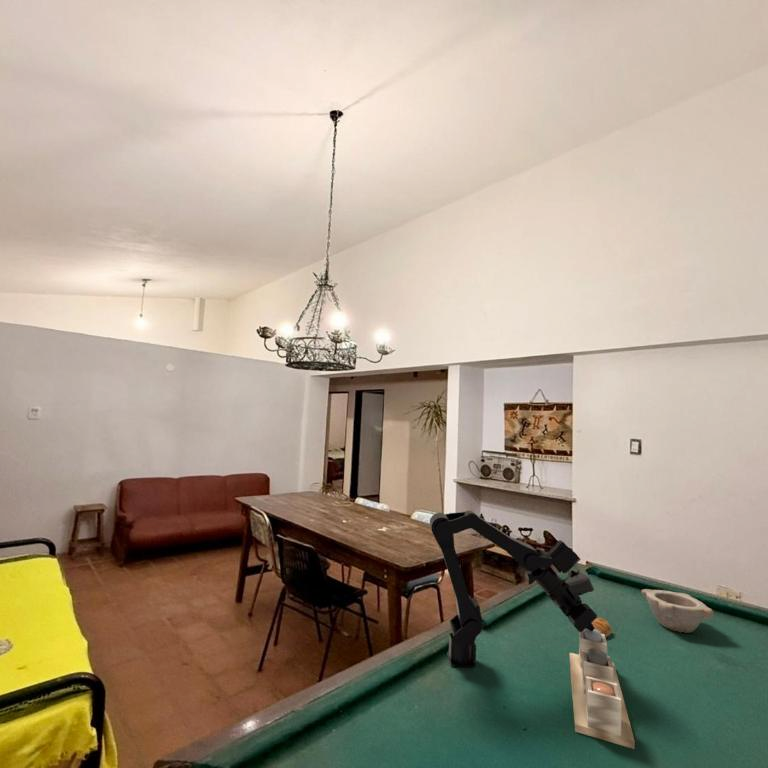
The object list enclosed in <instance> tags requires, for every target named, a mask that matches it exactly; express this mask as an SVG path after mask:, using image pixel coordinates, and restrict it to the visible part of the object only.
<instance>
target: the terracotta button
mask: <svg viewBox="0 0 768 768" xmlns="http://www.w3.org/2000/svg"><path fill="white" fill-rule="evenodd" d="M593 691H595V692H599V693H603V694H607V695H611V696H613V689H612V688H611V687H610V686H608V685H606V684H604V683H600V682H595V683H593Z"/></svg>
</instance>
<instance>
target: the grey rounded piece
mask: <svg viewBox="0 0 768 768" xmlns="http://www.w3.org/2000/svg"><path fill="white" fill-rule="evenodd" d="M607 656H608V654H607V655H606V653H604V652H603V651H601V650H598V649H589V650H588V662H590V663H594V664H599V665H603V666H607Z"/></svg>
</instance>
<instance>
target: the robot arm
mask: <svg viewBox="0 0 768 768" xmlns="http://www.w3.org/2000/svg"><path fill="white" fill-rule="evenodd" d="M429 527H430V530H431V533H432V535H433V537H434V539H435V541H436V543H437V545H438V546H439V548H440V550H441V554H442V556H443V559H444V563H445V565H446V569H447V570H446V571H447V572H448V576H449V579H450V583H451V585H452V589H453V593H454V595H455V604H456V615H455V616H453V617H452V618H451V619H450V620H449V625H450V628H451V632H449V633H448V635H449V638H448V651H446V652H447V653H446V654H447V656H448V657H447V658H448V660H449V664H450V666H451V667H455V666H464V667H463V668H476V663H475V662H476V660H477V644H476V642H475V641H476V638H477V636H479V635H480V634H481V633H482V630H483V629H484V627H483V623H484V622H485V619H484V616H483V615H482V613H481V608H480V604H479V602H478V600H477V597H476V596H474V597H472V598H471V596H470V593H469V591H468V588H467V585H466V580H465V578H464V574H463V571H462V568H461V565H460V562H459V559H458V558H459V557H458V555H457V551H456V547H455V536H454V535H455V534H458V533H461V532H463V531H466V530H469V529H472V530H473V531H474V532H476V533H478V534H479V535H481V536H482V537H484V538H485V539H487V540H488V541H490V542H491V543H493V544H494V545H496V546H497V547H499V548H501V549H502V550H504V551H505V552H506V553H507V554H508V555H509V556H510V557H511V558H512V559H513V560H514V561H516V562H517V564H518V565H520V566H521V568H522V569H524V570H525V571H524V572H525V577H524V580H525V581H526V582H527V583H528V585H532V584H533V583H534V582H535V583H536V584H537V585H538V586H539V587H540V588H541V589H542V590H543V591H544V592H545V594H546V595H547V596H548V598H549V599H550V600H551V601H552V602H553V604H554V605H555V606H557V607H558V608H559V609H560V610H561V612H562V613H563V614H564V616H565V617H567V619H568V621H569V622H570V623H571V625H572V626H574V628H575V630H577V631H578V633H579V632H582V631H583V630H585V628H586V629H588V630H590V631H593V630H594V629H595V628H594V626H593V625H592V622H593V621H594V620H595V619H596V618H598V614H597V613H596V612H595V611H594V610H593V609H592V608H591V607H590V606H589V605H588V604H587V603H585V602H584V603H583V602H582V598H581V597H580V596H582V595H585V594H587V593H592V592H594V590H595V588H594V585H593V584H592V581H591V579H590V577H589V576H588V575H586V574H585V573H582V572H577V571H576V570H575V569H573V568H574V566H576V565H577V563H579V562H580V561H581V558H580V557H579V556H578V554H577V553H576V552H575V551H573V550H572V549H571V548H570V547H569V546H568V545H567V544H566V543H565V542H564V541H563V540H560V539H559V540H558V541H557V542H556V544H554V546H553V547H552V548H551V549H550V550H549V551H548V552H546V551H545V550H542V549H540V548H539V549H537V548H534V547H533V546H532V545H531V544H529V543H526V542H525V541H522V540H519V539H517V538H514V537H512V536H509V535H508V534H506V533H505V532H503V531H501V530H500V529H499V528H497V527H495V526H494V525H492V523H490V522H488V521H486V520H485V519H483V518H482V517H480V516H479V515H477V513H476V512H474V511H472V510H466V511H461V512H449V513H443V512H437V513H434V514H433V515H431V517H430V519H429ZM551 566H552V567H553V568H554V569H553V568H552V567H551ZM555 570H556V571H557V572H558V573H559V574H561V573H562V574H568V575H567V579H566V580H564V579H563V578H562V577H560V576H559V575H558V573H557V572H556V571H555ZM465 666H466V667H465Z"/></svg>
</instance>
